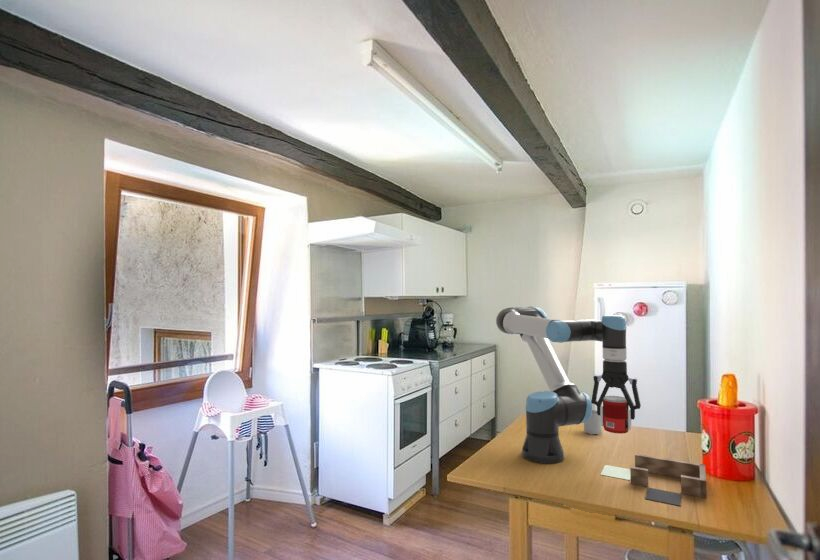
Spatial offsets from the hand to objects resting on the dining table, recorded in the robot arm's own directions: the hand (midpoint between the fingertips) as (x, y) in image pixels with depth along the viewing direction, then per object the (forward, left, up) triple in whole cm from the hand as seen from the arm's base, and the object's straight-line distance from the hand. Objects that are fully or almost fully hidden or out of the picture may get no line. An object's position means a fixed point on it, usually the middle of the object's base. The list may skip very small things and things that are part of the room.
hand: (616, 426), depth 156 cm
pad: (0, 0, -16) cm, 16 cm away
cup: (-15, +44, -16) cm, 50 cm away
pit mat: (+15, -13, -16) cm, 25 cm away
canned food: (0, 0, -1) cm, 1 cm away
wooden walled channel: (+15, 0, -16) cm, 22 cm away
